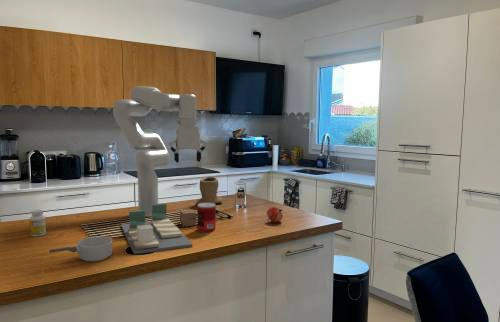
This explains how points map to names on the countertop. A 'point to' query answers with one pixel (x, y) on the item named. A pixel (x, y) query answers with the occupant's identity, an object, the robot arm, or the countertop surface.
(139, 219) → the broken strip
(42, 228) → the supplement bottle
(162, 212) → the strip
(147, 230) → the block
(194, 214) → the cube
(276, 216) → the pomegranate
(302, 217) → the countertop surface
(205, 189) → the stone cup
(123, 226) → the mat
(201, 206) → the canned food
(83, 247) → the saucepan
